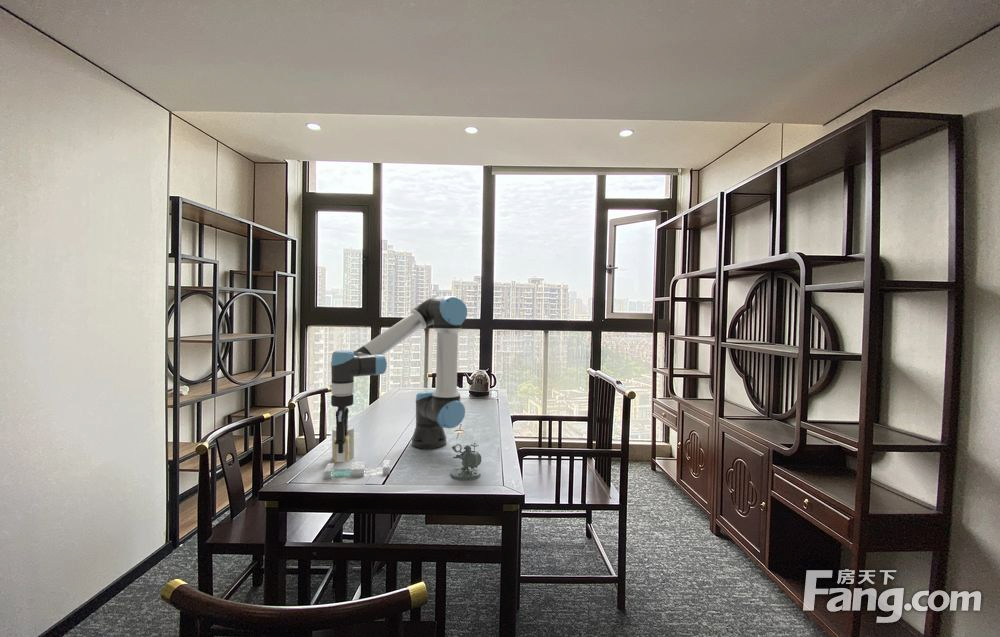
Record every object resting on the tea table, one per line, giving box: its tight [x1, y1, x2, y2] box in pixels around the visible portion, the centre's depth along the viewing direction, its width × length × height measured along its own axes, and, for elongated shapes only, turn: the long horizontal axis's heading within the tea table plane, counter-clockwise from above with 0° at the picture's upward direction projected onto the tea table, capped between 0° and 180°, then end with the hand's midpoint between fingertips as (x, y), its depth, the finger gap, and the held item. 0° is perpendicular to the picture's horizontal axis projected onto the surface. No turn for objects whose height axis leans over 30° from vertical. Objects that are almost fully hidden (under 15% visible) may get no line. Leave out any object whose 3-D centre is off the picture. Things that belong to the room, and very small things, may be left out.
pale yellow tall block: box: [333, 436, 349, 463], centre depth 161 cm, size 4×4×8 cm
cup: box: [331, 425, 355, 461], centre depth 178 cm, size 8×8×12 cm
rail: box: [323, 459, 391, 480], centre depth 162 cm, size 22×8×3 cm, turn 102°
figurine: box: [450, 442, 482, 481], centre depth 162 cm, size 11×11×12 cm
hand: (341, 459), depth 161 cm, fingers closed on pale yellow tall block, 4 cm apart
